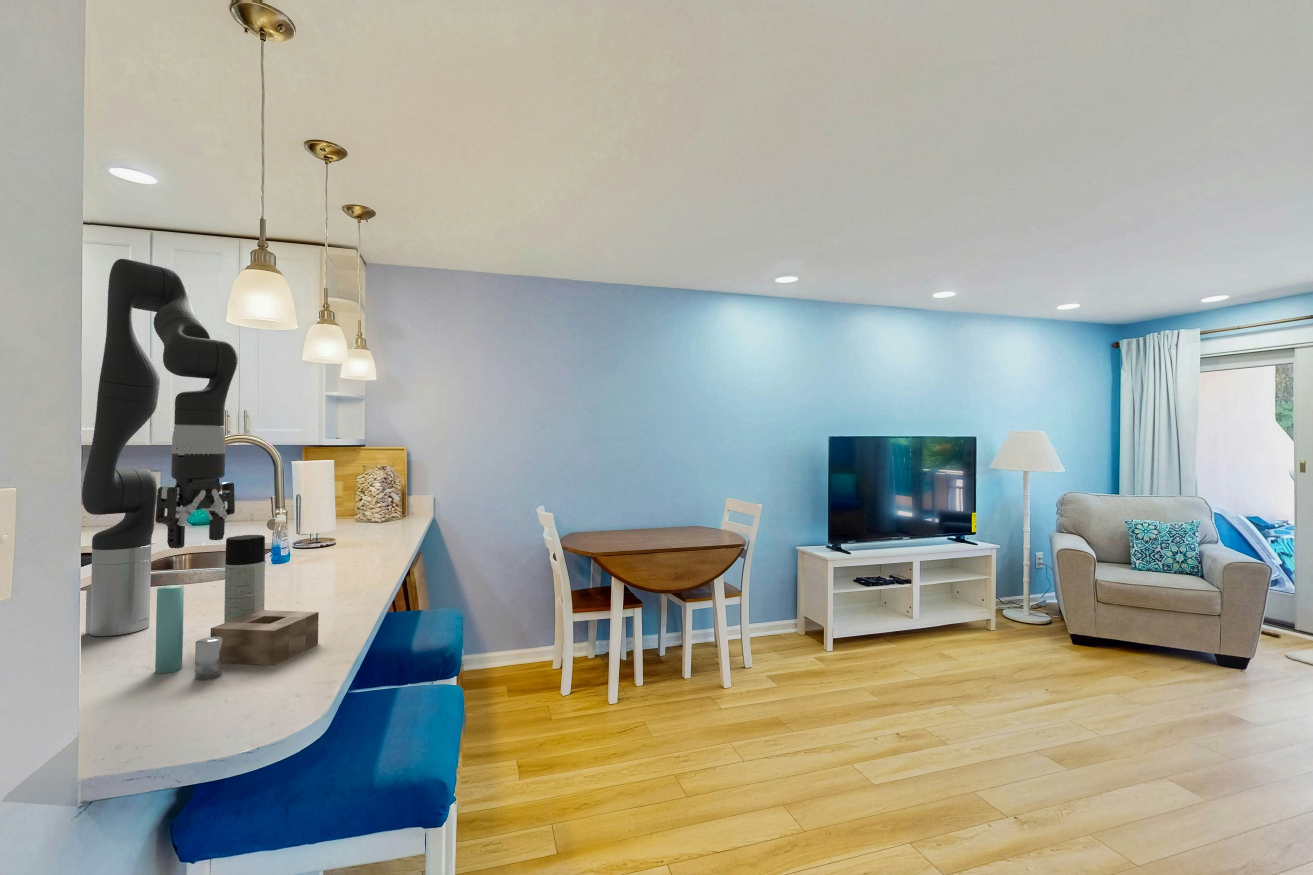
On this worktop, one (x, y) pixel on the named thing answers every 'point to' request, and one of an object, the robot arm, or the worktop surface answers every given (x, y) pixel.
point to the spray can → (244, 576)
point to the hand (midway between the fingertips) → (197, 543)
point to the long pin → (169, 629)
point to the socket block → (267, 636)
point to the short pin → (208, 658)
